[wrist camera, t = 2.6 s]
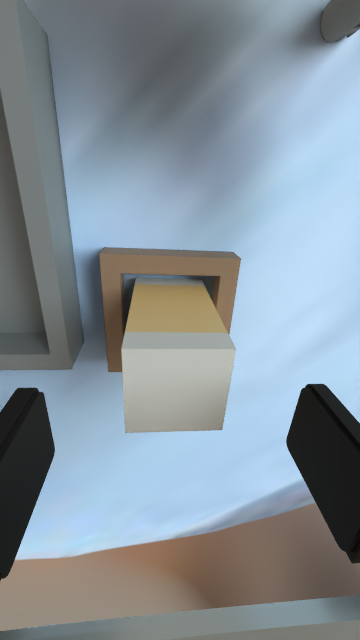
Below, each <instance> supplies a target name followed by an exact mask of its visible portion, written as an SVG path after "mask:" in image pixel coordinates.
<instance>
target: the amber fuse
mask: <svg viewBox="0 0 360 640" xmlns="http://www.w3.org/2000/svg"><path fill="white" fill-rule="evenodd" d="M121 351H122V372H123V392H124V412H125V432H126V433H134V432H170V431H205V430H222V428H223V422H224V416H225V410H226V404H227V398H228V392H229V387H230V381H231V375H232V369H233V363H234V357H235V351H236V349H235V346H234V344H233V342H232V340H231V338H230V336H229V334H228V332H227V330H226V328H225V326H224V324H223V322H222V320H221V318H220V316H219V314H218V312H217V310H216V308H215V306H214V304H213V302H212V300H211V298H210V296H209V294H208V292H207V290H206V288H205V286H204V283H203V281H202V279H167V278H136V281H135V286H134V290H133V295H132V300H131V305H130V310H129V315H128V319H127V324H126V329H125V334H124V339H123V344H122V349H121Z"/></svg>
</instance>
